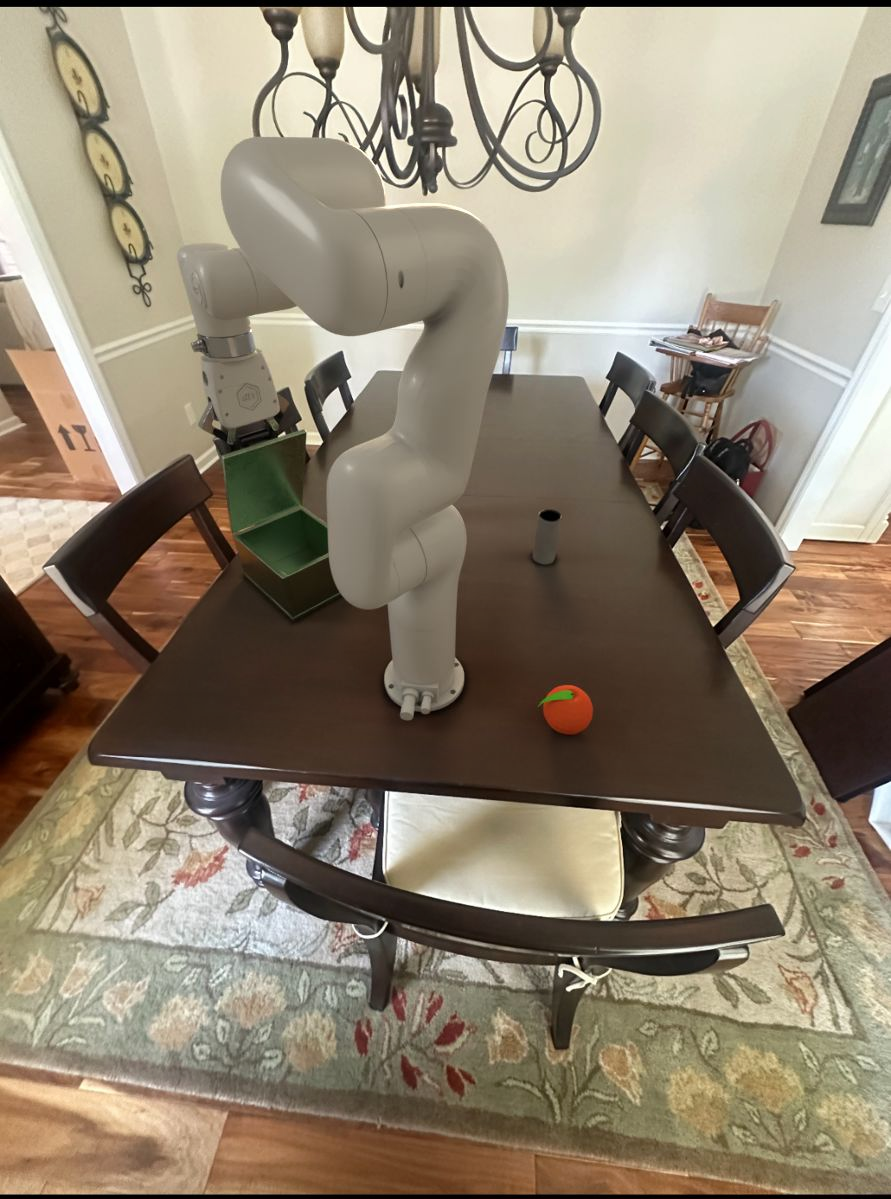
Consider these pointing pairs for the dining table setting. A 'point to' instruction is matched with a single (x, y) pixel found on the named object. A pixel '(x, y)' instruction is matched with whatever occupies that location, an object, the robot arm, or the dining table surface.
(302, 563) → the open green keepsake box
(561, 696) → the clementine
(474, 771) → the dining table surface
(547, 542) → the grey cylinder
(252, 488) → the lid
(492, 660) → the dining table surface
